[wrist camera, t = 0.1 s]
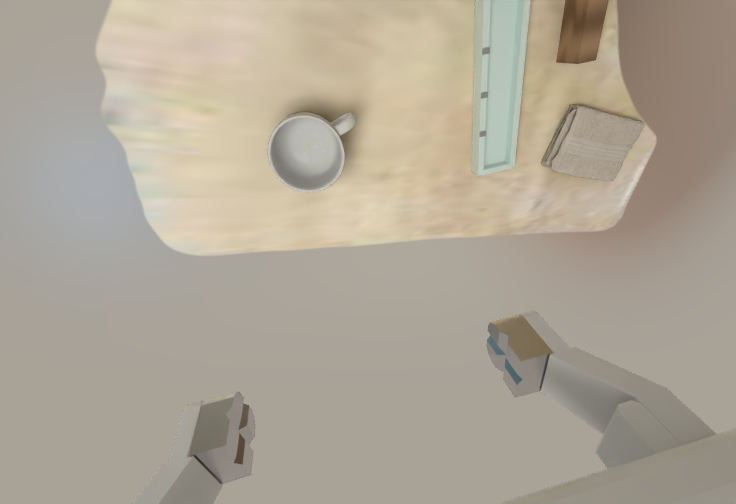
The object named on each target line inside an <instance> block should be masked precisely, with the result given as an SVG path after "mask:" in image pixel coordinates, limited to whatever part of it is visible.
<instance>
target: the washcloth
mask: <svg viewBox="0 0 736 504" xmlns="http://www.w3.org/2000/svg"><path fill="white" fill-rule="evenodd" d="M569 107H570V108H569V111H568V112H566V114H565V115H564V116H563V117H562V119H561V121H560V123H559V125H558V127H557V129H556V132H555V134H554V136H553V139H552V141H551V143H550V144H549V146H548V148H547V151H546V153H545V155H544V157H543V159H542V162H541V165H543V166H547V167H550V168H552V170H553V171H555V172H561V173H564V174H568V175H570V176H578V177H585V178H589V179H599V180H604V181H613V180H614V178H616V175H617V173H618V171H619V170H620V168H621V166H622V163H623V161H624V158H625V157H626V155H627V153H628V151H629V149H631V148H632V146H633V145H634V143H635V142H636V140H637V138H638V137H639V135H640V133H641V131H642V129H643V128H644V125H645V124H644V122H642V121H637V120H633V119H629V118H623V117H620V116H617V115H614V114H610V113H606V112H601V111H598V110H595V109H591V108H588V107H586V106H580V105H578V106H576V105H569Z"/></svg>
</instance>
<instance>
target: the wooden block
mask: <svg viewBox="0 0 736 504" xmlns="http://www.w3.org/2000/svg"><path fill="white" fill-rule="evenodd" d="M607 4H608V0H566V1H565V8H564V15H563V21H562V28H561V34H560V41H559V48H558V54H557V61H556V62H561V63H573V64H579V63H584V62H589V61H594V60H596V57H597V52H598V47H599V43H600V38H601V33H602V28H603V23H604V19H605V14H606V9H607Z"/></svg>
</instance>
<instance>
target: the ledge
mask: <svg viewBox="0 0 736 504" xmlns="http://www.w3.org/2000/svg"><path fill="white" fill-rule="evenodd" d="M530 3H531V0H475V32H474V80H473V129H472V172H473V173H474V174H476V175H477V176H482V175H486V174H490V173H495V172H499V171H503V170H507V169H512V168H514V167H515V156H516V146H517V136H518V126H519V115H520V105H521V95H522V85H523V74H524V64H525V54H526V44H527V33H528V23H529V13H530Z"/></svg>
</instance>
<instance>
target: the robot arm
mask: <svg viewBox="0 0 736 504" xmlns="http://www.w3.org/2000/svg"><path fill="white" fill-rule="evenodd" d="M488 332H489V333H490V337H489V338H488V339H487V349H488V353H489V356H490V358H491V360H492V362H493V364H494V365H495V367H496V368H498V369H499V370H501V371H503V372H504V378H503V379H504V381H505V383H506V384H507V386H508V388H509V389H510V391H511V392H512V394H513V395H514V397H518V396H523V395H526V394H530V393H534V392H538V391H541V393H542V394H544V395H545V396H547V397H548V398H550V399H551V400H553V401H554V402H556V403H557V404H559V405H560V406H562V407H563V408H565V409H566V410H568V411H569V412H571V413H572V414H574V415H575V416H577V417H578V418H580V419H581V420H582V421H584V422H585V423H587V424H588V425H590V426H591V427H593V428H594V429H596V430H597V431H599V432H600V433H602V434H603V436H602V438H601V440H600V442H599V444H598V446H597V450H596V454H597V455H598V456H599V458H600V459H601V460H602V462H603V463H604V464H605V466H606V467H607V469H606V470H603V471H599V472H596V473H593V474H590V475H587V476H584V477H581V478H577V479H574V480H571V481H568V482H565V483H562V484H558V485H556V486H552V487H549V488H546V489H543V490H540V491H537V492H533V493H530V494H527V495H524V496H521V497H518V498H514V499H511V500H508V501H505V502H502V503H499V504H736V428H735V429H732V430H729V431H725V432H722V433H719V434H716V433H715V432H714V431H713V430H712V429H711V428H710V427H709V426H707V425H706V424H705V423H704V422H703V421H702V420H701V419H700V418H699V417H697V415H696V414H694V413H693V412H692V411H691V410H690V409H689V408H688V407H687V406H686V405H685V404H683V403H682V402H681V401H680V400H679V399H678V398H677V397H676V396H675V395H673V393H672V392H671V391H670V390H668V389H667V388H665V387H663V386H661V385H659V384H656V383H654V382H652V381H650V380H647V379H645V378H643V377H641V376H638V375H636V374H634V373H632V372H629V371H627V370H625V369H623V368H620V367H618V366H616V365H614V364H612V363H609V362H607V361H605V360H603V359H600V358H598V357H596V356H594V355H592V354H589V353H587V352H585V351H583V350H580V349H578V348H576V347H574V348H570V347H569V346H568V345H567V344H566V343H565V342H564V341H563V340H562V338H561V337H560V336H559V335H557V333H556V332H555V331H554V330H553V329H552V328H551V327H550V325H549V324H548V323H547V322H546V321H545V320H544V319H543V318H542V317H541V316H540V315H539V314H538V313H537V312H536V311H530V312H526V313H523V314H519V315H514V316H511V317H507V318H504V319H500V320H497V321H493V322H490V323H489V325H488ZM243 400H244V397H243V396H242V394H241V393H240V392H236V393H232V394H228V395H224V396H220V397H216V398H212V399H208V400H204V401H200V402H196V403H192V404H189V405H187V406H186V408H185V409H184V411H183V414H182V417H181V421H180V424H179V427H178V431H177V434H176V438H175V441H174V444H173V448H172V451H171V455H170V458H169V461H168V463H166V464H163V465H162V466H161V468H160V469H159V470H158V471H157V473H156V474H155V475H154V476H153V478H152V479H151V480H150V481H149V483H148V484H147V485H146V486H145V488H144V489H143V490H142V491H141V493H140V494H139V495H138V496H137V498H136V499H135V500H134V501H133V503H132V504H213V503H214V501H215V499H216V497H217V496H218V494H219V492H220V490H221V488H222V484H224V483H228V482H231V481H234V480H237V479H240V478H243V477H246V476H249V475H251V469H252V459H253V450H252V449H251V448H250V446H249V444H250V442H251V441H252V439H253V438H254V436H255V419H254V414H253V411H252V409H251V408H250V406H249V405H246V404H243Z"/></svg>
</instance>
